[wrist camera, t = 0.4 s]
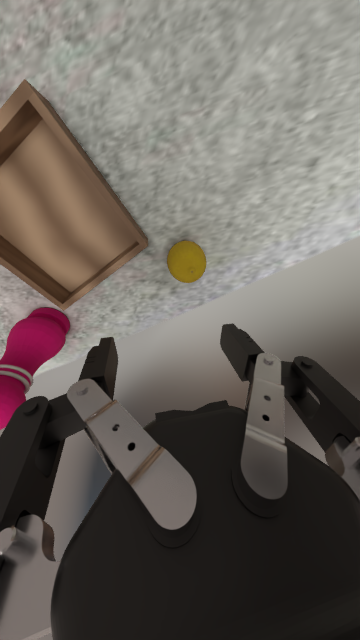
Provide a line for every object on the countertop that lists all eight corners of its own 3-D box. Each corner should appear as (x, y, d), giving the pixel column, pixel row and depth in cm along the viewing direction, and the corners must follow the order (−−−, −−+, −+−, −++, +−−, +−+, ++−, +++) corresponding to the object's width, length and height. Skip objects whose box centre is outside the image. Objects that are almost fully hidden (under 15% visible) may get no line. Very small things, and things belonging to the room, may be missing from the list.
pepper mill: (17, 307, 30) (-128, 438, 14) (63, 302, 31) (-26, 421, 15) (39, 339, 35) (-53, 469, 18) (79, 334, 35) (23, 454, 19)
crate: (48, 101, 19) (24, 78, 15) (147, 238, 27) (148, 245, 24) (-42, 203, 22) (-78, 205, 18) (73, 296, 31) (63, 310, 27)
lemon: (158, 259, 29) (162, 278, 23) (178, 228, 27) (188, 239, 21) (185, 276, 32) (195, 298, 25) (205, 249, 30) (221, 265, 23)
